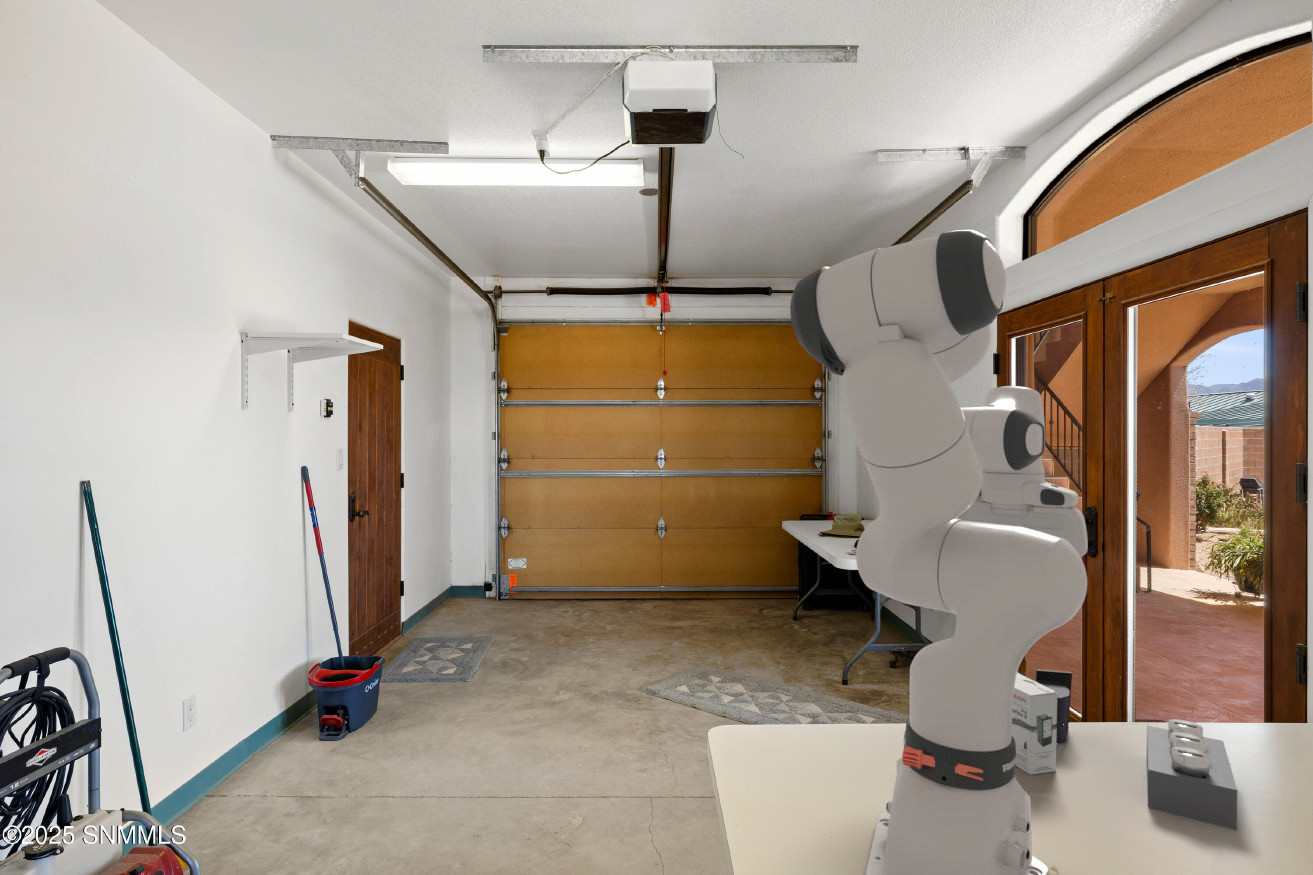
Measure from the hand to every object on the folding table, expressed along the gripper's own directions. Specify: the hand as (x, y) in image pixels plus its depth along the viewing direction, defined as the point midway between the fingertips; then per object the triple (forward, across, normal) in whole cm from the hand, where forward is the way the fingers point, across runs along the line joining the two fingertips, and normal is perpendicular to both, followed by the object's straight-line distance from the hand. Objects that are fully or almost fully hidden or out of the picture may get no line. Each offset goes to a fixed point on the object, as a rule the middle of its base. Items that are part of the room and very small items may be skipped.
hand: (1010, 579), depth 107 cm
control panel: (+26, +22, +1) cm, 35 cm away
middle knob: (+24, +22, +1) cm, 33 cm away
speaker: (+27, +5, +9) cm, 29 cm away
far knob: (+24, +22, +7) cm, 34 cm away
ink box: (+27, +2, -3) cm, 27 cm away
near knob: (+24, +22, -4) cm, 33 cm away
